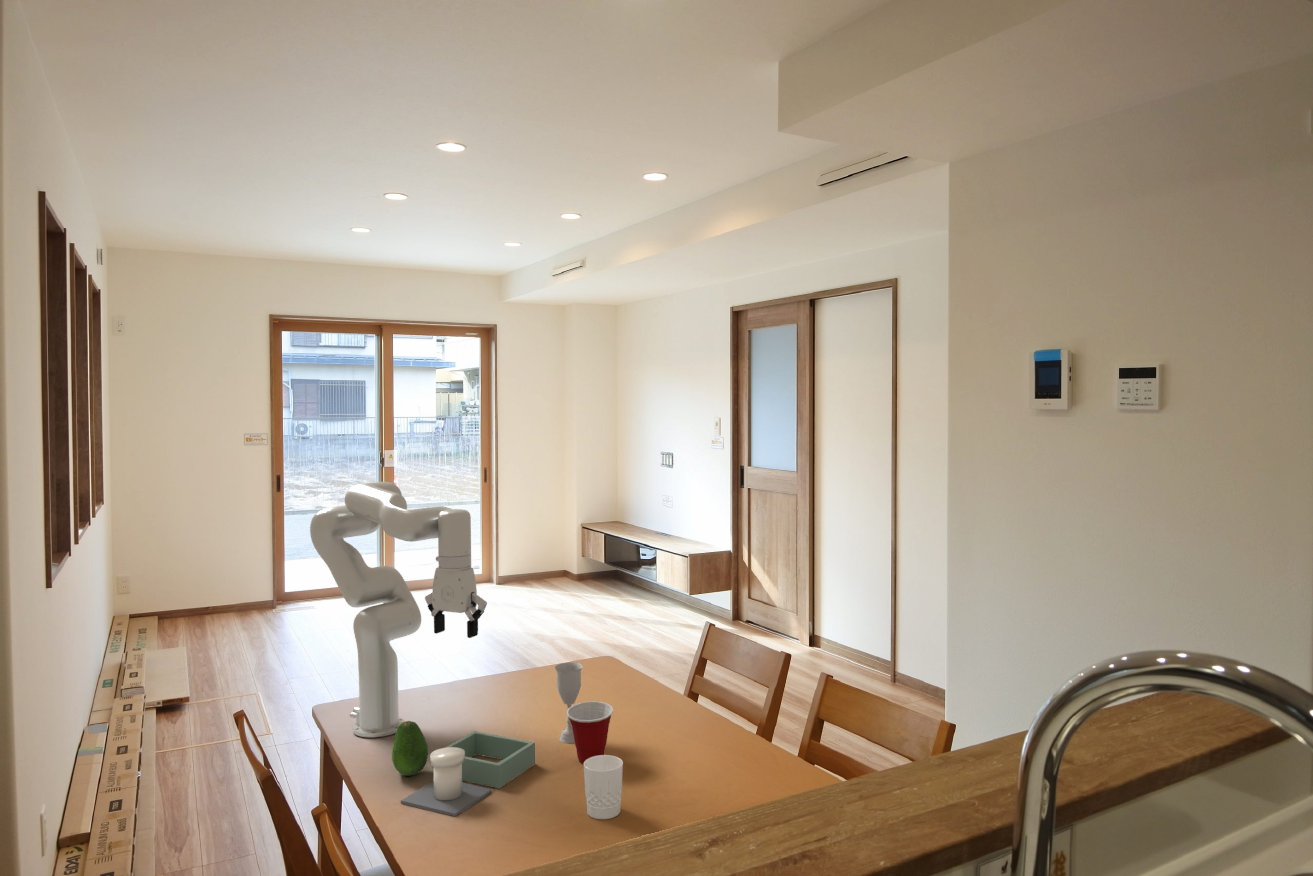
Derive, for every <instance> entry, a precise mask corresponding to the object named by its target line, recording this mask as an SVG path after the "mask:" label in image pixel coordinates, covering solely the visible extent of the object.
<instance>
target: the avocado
mask: <svg viewBox="0 0 1313 876" xmlns="http://www.w3.org/2000/svg"><path fill="white" fill-rule="evenodd" d="M391 750H392V751H391V760H392V764H393V767H394V768H395V770H396V771H397V772H398V773H399V774H401V775H403V776H410V777H411V776H414V775H417V774H419V773H420V772H422V771H423V770H424V769H425V767H426V766H427V762H428V757H429V745H428V743H427V740H426V738H425V736H424V734H423V732H422V729H421V728H420V727H419V725H418V724H417V723H416V722H414V721H411V720H407V721H405V722H403V723H401V724H400V725H399V726H398V728H397V731H396V733H395V735H394V741H393V743H392V749H391Z"/></svg>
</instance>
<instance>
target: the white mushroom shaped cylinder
mask: <svg viewBox="0 0 1313 876" xmlns="http://www.w3.org/2000/svg"><path fill="white" fill-rule="evenodd" d="M429 758H430V759H429V760H430V761H429V762H430V765H431V766H432V767H433V781H434V798H435V799H438V800H452V799H456V798H458V797H460V796H461V795H462V783H463V781H462V763H463V762H464V761H465V751H464V750H463V749H461V748H456V747H448V748H445V747H443V748H438V749H435V750H434V751H432V752H430V756H429Z"/></svg>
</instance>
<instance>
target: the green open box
mask: <svg viewBox="0 0 1313 876" xmlns="http://www.w3.org/2000/svg"><path fill="white" fill-rule="evenodd" d="M448 747H456V748H461V749H463V750H464V751H465V761H464V762H463V763H462V782H466V781H467V783H471V784H475V783H477V784H476V785H480V784H481V786H484V785H485V786H484V787H489V786H490V788H493V787H495V788H494V789H498V788H499V789H501V788H502V787H503V785H504V786H506V785H507V784H509V781H510V782H511V781H513V780H514V779H515V777H516V778H517V777H518V775H519V774H520V775H522V774H523V773H524V772H526V771H528V770H529V769H531V768H532V767H533V766H534V764H535V765H536V742H535V741H529V740H523V739H518V738H514V737H507V736H503V735H499V734H498V735H497V734H491V733H487V732H481V731H476V730H475V731H472V732H470V733H469V734H467V735H465V736H463V737H462V738H460V739H457V740H456V741H454V742H453V743H450V744H449V745H447V746H445V747H444V748H448ZM477 754H479V756H482V755H484V756H483V757H487V758H492V757H493V758H492V759H497V758H498V760H500V761H499V762H493V761H489V760H484V759H479V758H474V757H473V756H475V755H477ZM502 759H503V760H502ZM531 766H532V767H531ZM528 768H529V769H528ZM520 775H519V776H520ZM512 779H513V780H512ZM506 783H507V784H506ZM500 787H501V788H500Z"/></svg>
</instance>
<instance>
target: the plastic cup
mask: <svg viewBox="0 0 1313 876" xmlns="http://www.w3.org/2000/svg"><path fill="white" fill-rule="evenodd" d="M566 712H567V713H566V714H567V717H568V718H569V719H570V722H571V726H572V730H573V736H574V741H575V742H574V746H575V750H576V754H577V755H576V756H577V759H578V762H579V763H580V764H583V765H584V762H585V760H587V759H588V758H591V757H594V756H599V755H605V754H606V753H605V752H606V746H607V740H608V733H609V729H610V728H609V727H610V722H611V718H612V714H613V713H614V708H613V706H612V705H611V704H609V703H608V702H603V701H600V700H599V701H597V700H595V701H594V700H591V701H590V700H589V701H582V702H579V703H574V704H572V705H571V707H570V708H569V709H568V710H566Z"/></svg>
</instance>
